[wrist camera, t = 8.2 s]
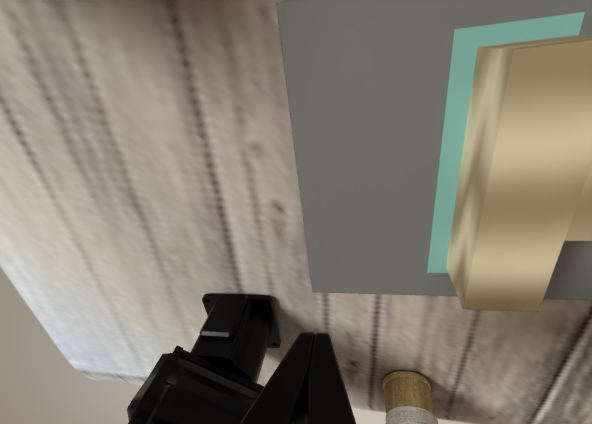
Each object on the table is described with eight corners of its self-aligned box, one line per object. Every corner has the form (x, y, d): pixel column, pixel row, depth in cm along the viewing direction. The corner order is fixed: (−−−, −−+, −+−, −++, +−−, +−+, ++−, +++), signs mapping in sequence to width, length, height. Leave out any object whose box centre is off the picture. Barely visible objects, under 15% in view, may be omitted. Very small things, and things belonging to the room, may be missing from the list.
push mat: (660, 297, 21) (666, 302, 20) (312, 288, 26) (312, 292, 25) (908, -102, 11) (926, -106, 11) (277, 4, 16) (276, 3, 16)
